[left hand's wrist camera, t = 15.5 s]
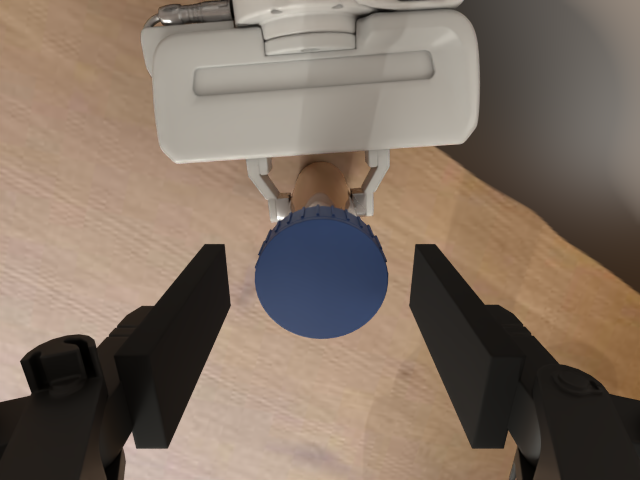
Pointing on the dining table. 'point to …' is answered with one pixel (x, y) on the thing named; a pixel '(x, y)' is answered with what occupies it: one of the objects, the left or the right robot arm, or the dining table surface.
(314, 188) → the bottle
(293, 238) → the lid
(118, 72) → the dining table surface
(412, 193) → the dining table surface
